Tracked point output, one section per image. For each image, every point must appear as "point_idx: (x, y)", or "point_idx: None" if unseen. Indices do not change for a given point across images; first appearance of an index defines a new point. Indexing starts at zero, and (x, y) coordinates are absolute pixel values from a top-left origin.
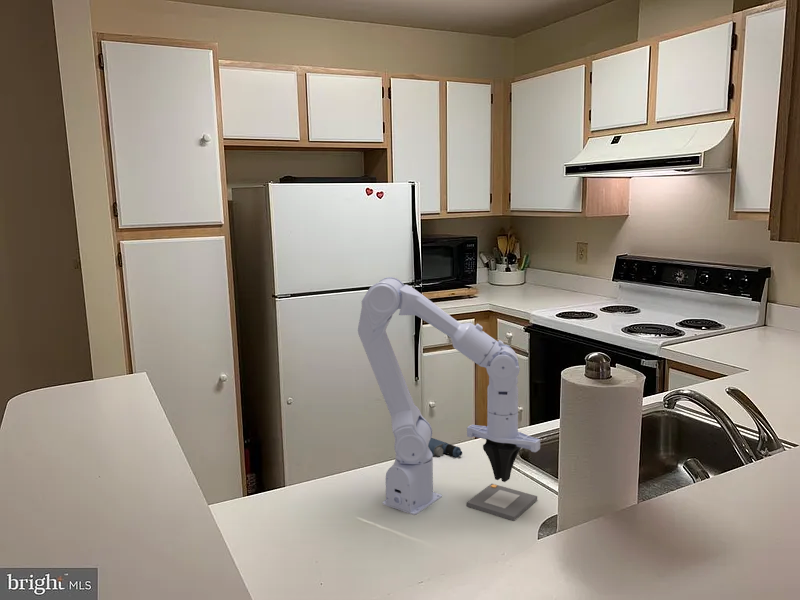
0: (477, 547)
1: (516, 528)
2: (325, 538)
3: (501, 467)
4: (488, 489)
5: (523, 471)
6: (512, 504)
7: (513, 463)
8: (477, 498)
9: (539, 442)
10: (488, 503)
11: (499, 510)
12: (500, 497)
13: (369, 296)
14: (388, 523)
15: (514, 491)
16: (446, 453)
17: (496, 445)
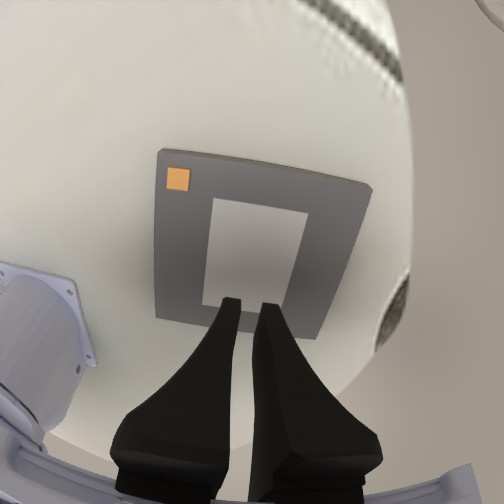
0: None
1: (325, 352)
2: (71, 418)
3: (255, 404)
4: (170, 211)
5: None
6: (295, 282)
7: (304, 357)
8: (170, 287)
9: (472, 499)
10: (219, 306)
11: None
12: (240, 257)
13: None
14: (89, 390)
15: (275, 182)
16: None
17: (212, 495)
